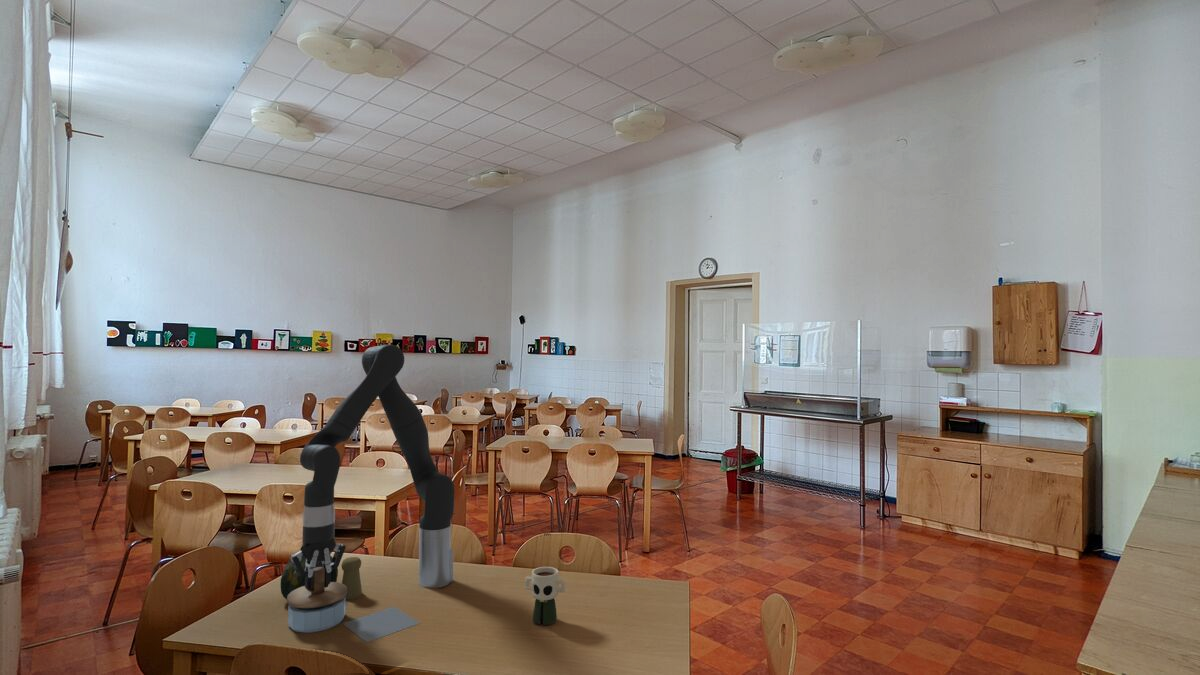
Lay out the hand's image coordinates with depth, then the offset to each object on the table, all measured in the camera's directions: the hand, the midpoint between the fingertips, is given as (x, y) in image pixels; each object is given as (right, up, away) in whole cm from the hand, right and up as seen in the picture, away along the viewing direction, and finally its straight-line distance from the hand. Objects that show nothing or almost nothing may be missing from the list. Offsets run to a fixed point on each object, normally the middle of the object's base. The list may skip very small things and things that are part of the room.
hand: (317, 588), depth 153 cm
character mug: (+59, -10, +1) cm, 59 cm away
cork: (+2, -10, +16) cm, 19 cm away
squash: (-10, -9, +17) cm, 22 cm away
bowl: (0, -9, 0) cm, 9 cm away
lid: (0, -2, 0) cm, 2 cm away
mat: (+17, -9, -1) cm, 19 cm away
